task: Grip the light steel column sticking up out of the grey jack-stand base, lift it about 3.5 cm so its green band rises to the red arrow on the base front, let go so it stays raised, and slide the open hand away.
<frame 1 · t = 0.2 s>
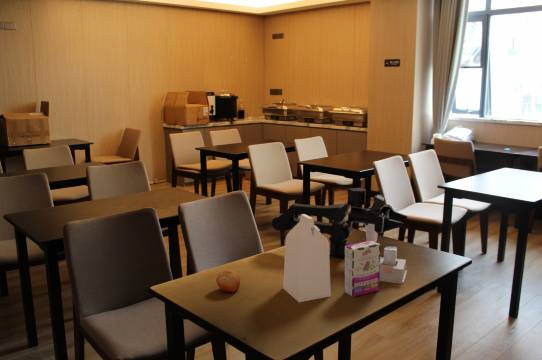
hand: (405, 220, 194), 17 cm above the table, tool horizontal, fingers open, 9 cm apart
stand base: (389, 276, 185), on the table
column: (390, 260, 184), point 6 cm above the table, slide at 0.0 cm
milk: (306, 292, 172), on the table
smoothie: (371, 244, 220), on the table
fruit: (228, 290, 174), on the table
candy bar box: (361, 292, 172), on the table
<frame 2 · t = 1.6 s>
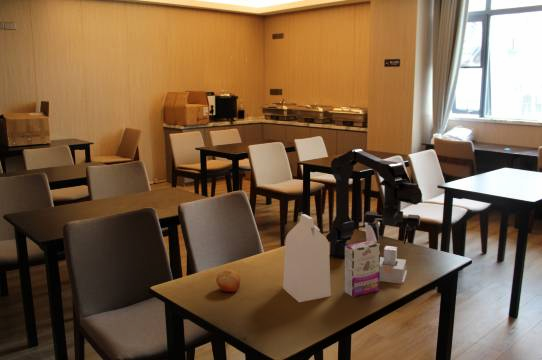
hand: (391, 242, 183), 13 cm above the table, tool pointing down, fingers open, 9 cm apart
nothing on the table moved.
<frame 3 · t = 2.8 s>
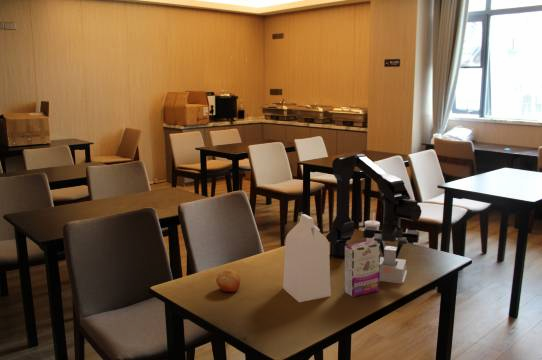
hand: (390, 257, 184), 7 cm above the table, tool pointing down, fingers closed on column, 4 cm apart
column: (390, 260, 184), point 6 cm above the table, slide at 0.0 cm, touching gripper
everything else where it was.
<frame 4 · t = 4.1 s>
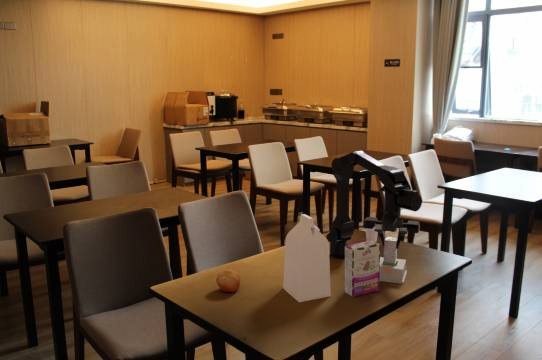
hand: (390, 248, 183), 10 cm above the table, tool pointing down, fingers closed on column, 4 cm apart
column: (390, 251, 183), point 9 cm above the table, slide at 3.4 cm, touching gripper
everything else where it was.
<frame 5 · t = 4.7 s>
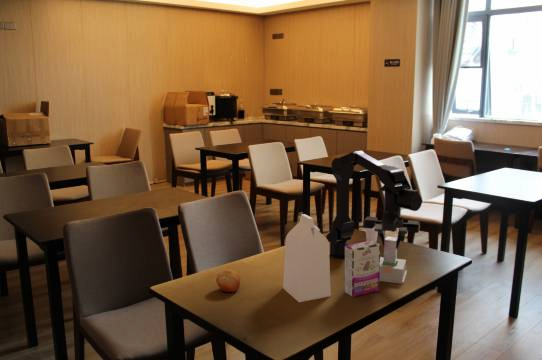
hand: (390, 247, 183), 11 cm above the table, tool pointing down, fingers closed on column, 4 cm apart
column: (390, 251, 183), point 9 cm above the table, slide at 3.5 cm, touching gripper
everything else where it was.
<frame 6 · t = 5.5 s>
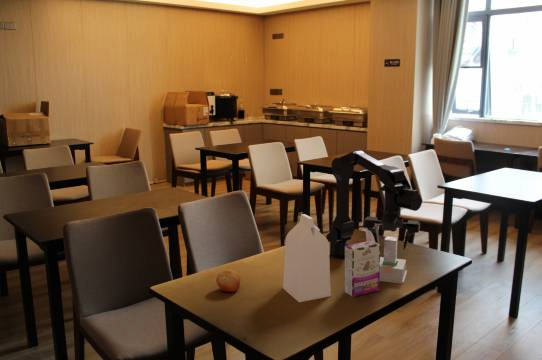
hand: (390, 247, 183), 11 cm above the table, tool pointing down, fingers open, 9 cm apart
column: (390, 251, 183), point 9 cm above the table, slide at 3.5 cm
everything else where it was.
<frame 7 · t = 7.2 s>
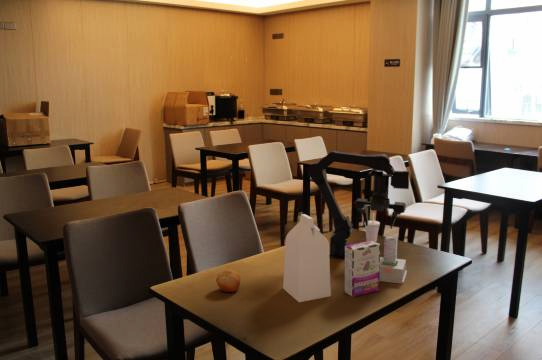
hand: (378, 227, 200), 13 cm above the table, tool pointing down, fingers open, 9 cm apart
nothing on the table moved.
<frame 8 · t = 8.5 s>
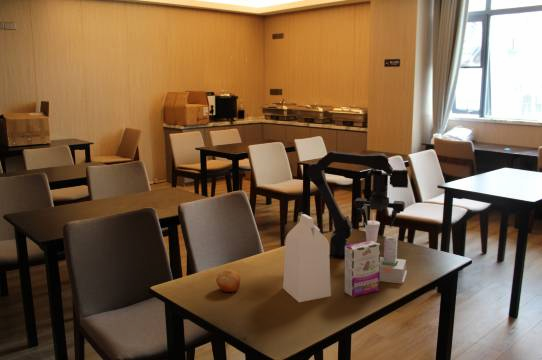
hand: (378, 226, 201), 13 cm above the table, tool pointing down, fingers open, 9 cm apart
nothing on the table moved.
at the end: column slide at 3.5 cm; the gripper is holding nothing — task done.
